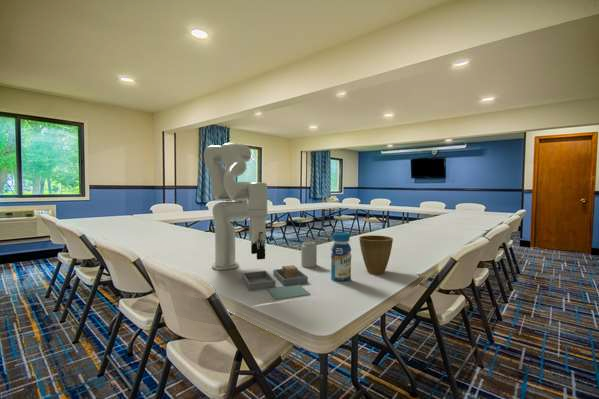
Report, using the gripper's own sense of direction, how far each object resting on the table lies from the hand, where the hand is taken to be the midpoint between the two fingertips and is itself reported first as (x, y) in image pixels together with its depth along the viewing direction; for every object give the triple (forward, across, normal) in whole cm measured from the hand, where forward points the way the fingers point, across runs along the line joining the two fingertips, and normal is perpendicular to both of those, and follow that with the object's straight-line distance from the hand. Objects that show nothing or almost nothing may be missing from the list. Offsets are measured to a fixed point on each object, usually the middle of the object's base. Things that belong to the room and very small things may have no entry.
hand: (257, 256), depth 113 cm
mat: (+11, +14, +8) cm, 19 cm away
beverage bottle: (+12, +8, +33) cm, 36 cm away
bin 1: (+11, 0, 0) cm, 11 cm away
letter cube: (+11, 0, +14) cm, 17 cm away
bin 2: (+11, 0, +14) cm, 18 cm away
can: (+12, -16, +29) cm, 35 cm away
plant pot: (+12, +4, +54) cm, 55 cm away
